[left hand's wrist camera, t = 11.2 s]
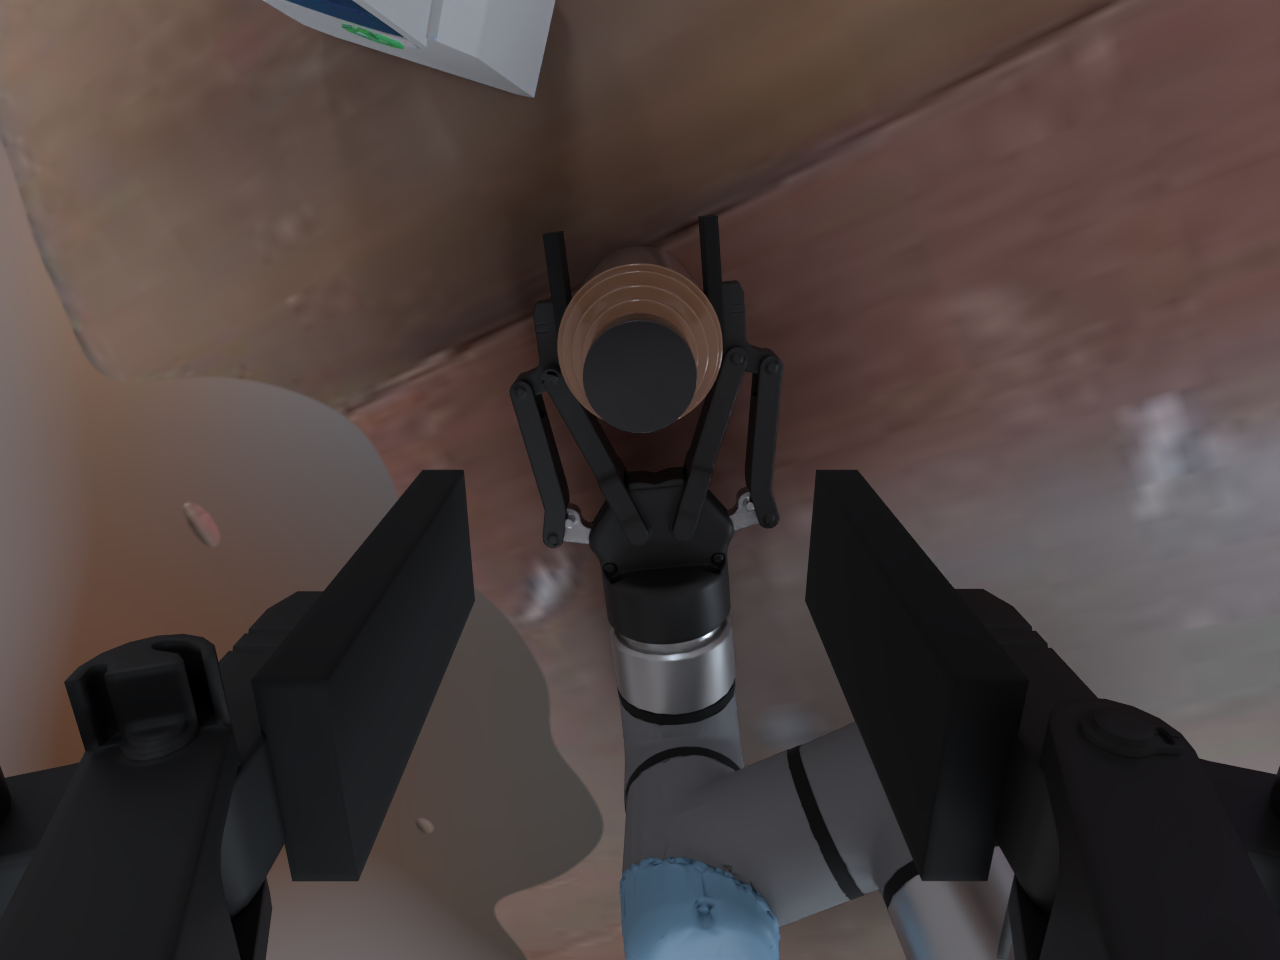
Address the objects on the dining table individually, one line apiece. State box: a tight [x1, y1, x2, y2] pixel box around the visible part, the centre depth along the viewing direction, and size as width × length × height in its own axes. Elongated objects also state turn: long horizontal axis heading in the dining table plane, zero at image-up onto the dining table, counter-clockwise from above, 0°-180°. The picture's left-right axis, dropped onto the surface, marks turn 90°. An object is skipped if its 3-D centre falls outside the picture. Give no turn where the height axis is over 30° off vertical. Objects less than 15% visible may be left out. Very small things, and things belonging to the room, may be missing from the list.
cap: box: [583, 313, 697, 433], centre depth 28 cm, size 4×4×2 cm
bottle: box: [557, 246, 723, 420], centre depth 37 cm, size 7×7×20 cm
